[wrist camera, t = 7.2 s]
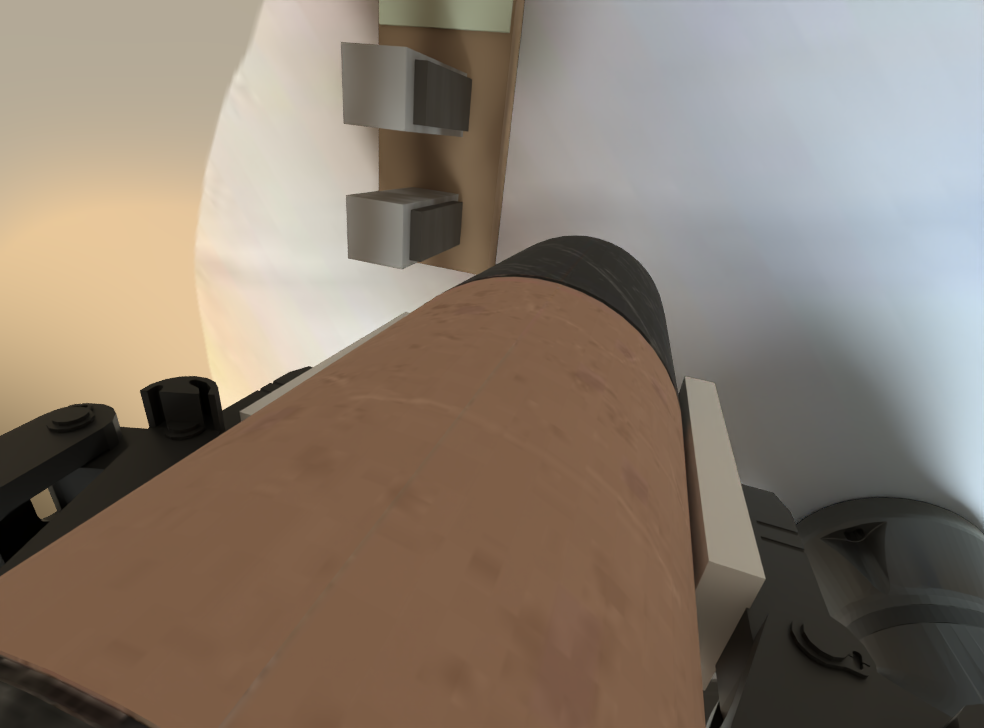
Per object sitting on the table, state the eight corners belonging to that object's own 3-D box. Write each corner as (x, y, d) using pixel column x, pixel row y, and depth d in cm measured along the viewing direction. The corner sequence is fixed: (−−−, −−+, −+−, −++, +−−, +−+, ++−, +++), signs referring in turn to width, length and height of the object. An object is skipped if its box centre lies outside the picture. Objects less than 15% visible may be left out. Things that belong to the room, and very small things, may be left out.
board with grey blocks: (541, -149, 28) (481, -310, 18) (494, 271, 39) (442, 307, 30) (394, -144, 30) (272, -284, 20) (390, 250, 41) (311, 278, 32)
